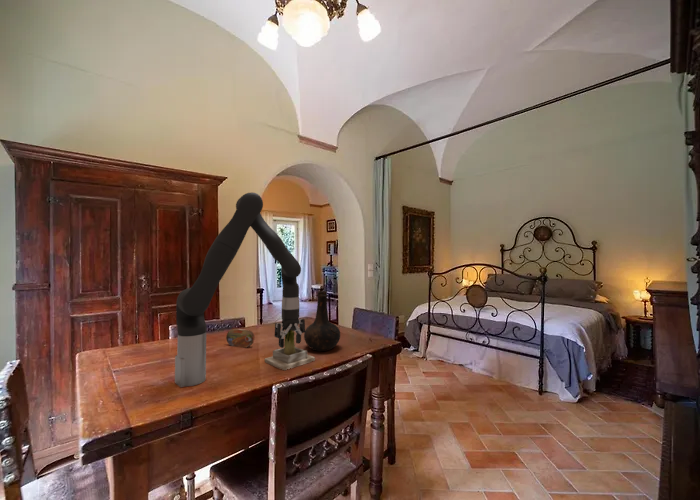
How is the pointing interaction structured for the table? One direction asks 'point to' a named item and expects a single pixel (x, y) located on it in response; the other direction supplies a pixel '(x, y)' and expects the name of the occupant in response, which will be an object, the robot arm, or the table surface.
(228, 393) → the table surface
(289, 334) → the fennel bulb
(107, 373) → the table surface
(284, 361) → the grey piece
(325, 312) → the glass bottle
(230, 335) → the tin
